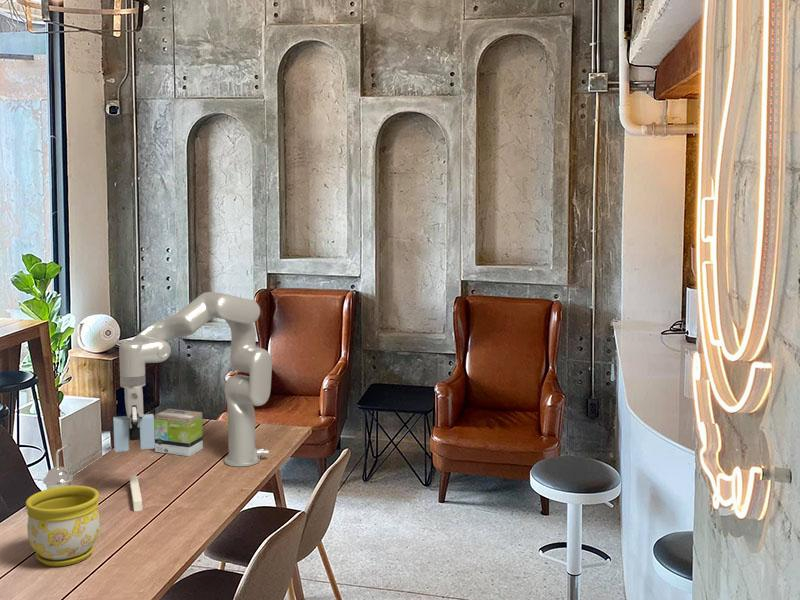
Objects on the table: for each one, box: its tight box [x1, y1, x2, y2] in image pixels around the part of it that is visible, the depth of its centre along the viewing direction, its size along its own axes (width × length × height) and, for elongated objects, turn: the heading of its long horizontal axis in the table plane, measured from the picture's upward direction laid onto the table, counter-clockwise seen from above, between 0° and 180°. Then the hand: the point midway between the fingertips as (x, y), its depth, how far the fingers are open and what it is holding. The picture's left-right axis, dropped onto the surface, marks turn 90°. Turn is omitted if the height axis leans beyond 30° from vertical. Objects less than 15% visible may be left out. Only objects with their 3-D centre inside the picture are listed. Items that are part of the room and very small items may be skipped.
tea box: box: [153, 408, 204, 458], centre depth 308 cm, size 15×10×15 cm, turn 73°
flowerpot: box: [25, 485, 101, 567], centre depth 218 cm, size 18×18×16 cm
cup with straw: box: [43, 442, 74, 490], centre depth 249 cm, size 8×9×20 cm
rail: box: [129, 475, 143, 512], centre depth 261 cm, size 2×24×3 cm, turn 21°
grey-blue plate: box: [112, 413, 155, 453], centre depth 259 cm, size 12×4×10 cm, turn 110°
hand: (134, 436), depth 260 cm, fingers closed on grey-blue plate, 4 cm apart
